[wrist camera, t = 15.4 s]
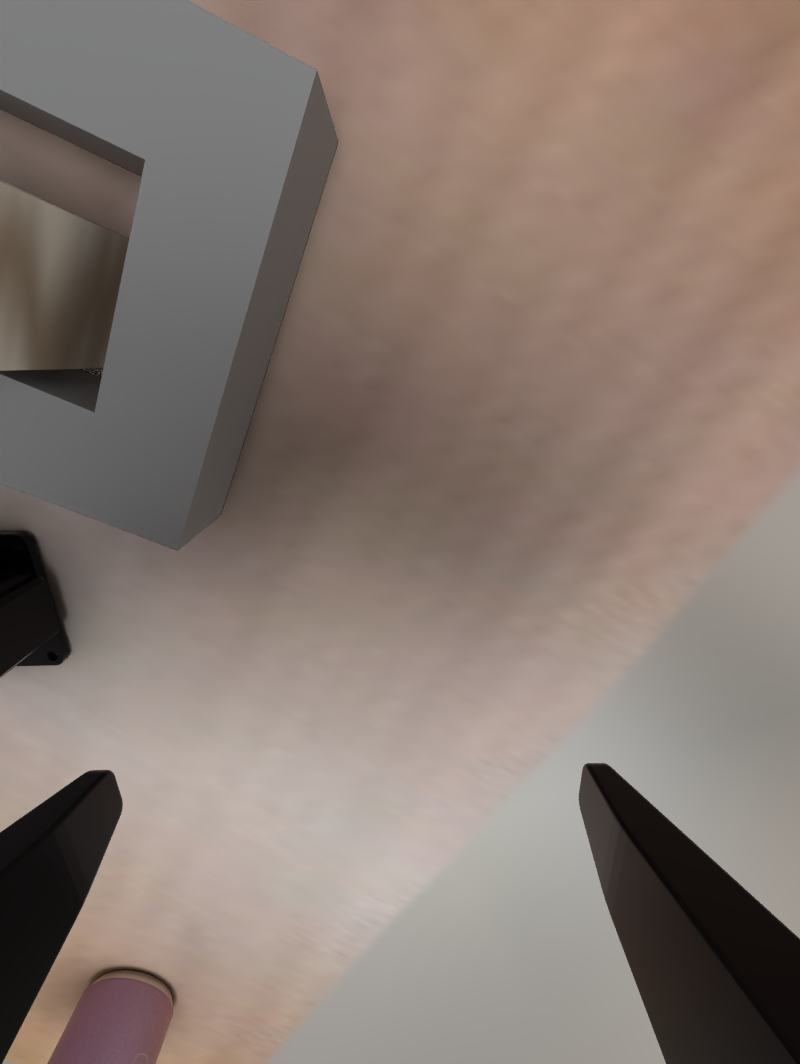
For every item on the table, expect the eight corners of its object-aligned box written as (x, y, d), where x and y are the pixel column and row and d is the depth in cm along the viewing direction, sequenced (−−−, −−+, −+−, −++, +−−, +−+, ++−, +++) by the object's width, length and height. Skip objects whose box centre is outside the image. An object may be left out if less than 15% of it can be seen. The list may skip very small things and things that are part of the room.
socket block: (220, 514, 20) (177, 550, 16) (-132, 376, 18) (-275, 379, 14) (338, 141, 15) (316, 69, 12) (-116, -94, 13) (-317, -270, 10)
